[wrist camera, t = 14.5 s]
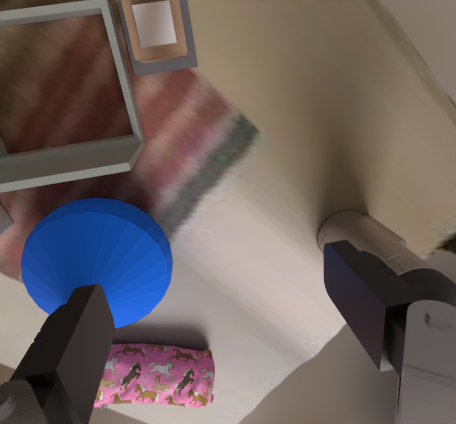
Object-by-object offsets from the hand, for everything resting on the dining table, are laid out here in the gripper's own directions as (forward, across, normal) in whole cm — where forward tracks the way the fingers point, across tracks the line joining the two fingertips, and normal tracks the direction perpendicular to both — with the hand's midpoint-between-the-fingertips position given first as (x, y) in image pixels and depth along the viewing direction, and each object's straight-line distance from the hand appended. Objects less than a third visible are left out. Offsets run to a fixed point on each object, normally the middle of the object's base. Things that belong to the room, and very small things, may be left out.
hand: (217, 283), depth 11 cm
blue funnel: (+35, +15, +13) cm, 40 cm away
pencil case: (+36, +14, +39) cm, 54 cm away
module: (+34, +2, -13) cm, 36 cm away
